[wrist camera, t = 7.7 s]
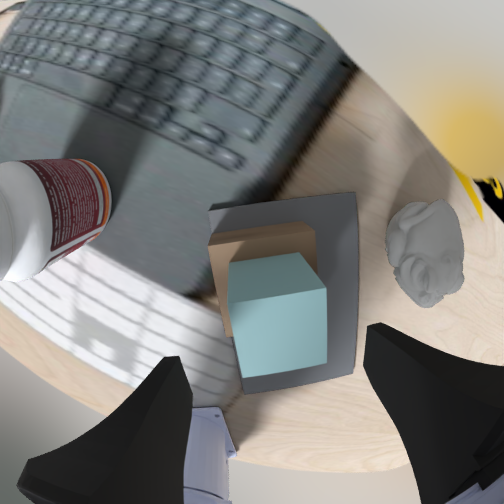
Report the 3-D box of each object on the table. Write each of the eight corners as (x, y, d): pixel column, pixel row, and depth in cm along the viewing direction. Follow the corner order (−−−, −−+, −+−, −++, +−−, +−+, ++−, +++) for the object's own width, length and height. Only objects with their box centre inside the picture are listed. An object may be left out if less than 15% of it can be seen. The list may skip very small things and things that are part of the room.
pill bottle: (69, 144, 16) (-44, 140, 5) (129, 185, 17) (22, 210, 7) (39, 214, 17) (-63, 255, 7) (92, 258, 18) (-1, 332, 8)
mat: (351, 370, 23) (352, 373, 23) (244, 391, 23) (244, 394, 22) (353, 191, 18) (355, 192, 18) (208, 210, 18) (208, 211, 18)
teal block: (303, 313, 17) (326, 363, 12) (239, 323, 17) (242, 378, 12) (299, 252, 16) (326, 287, 11) (228, 262, 16) (226, 303, 11)
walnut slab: (308, 301, 20) (319, 322, 17) (226, 314, 20) (226, 337, 17) (302, 220, 18) (314, 230, 15) (211, 234, 18) (207, 246, 15)
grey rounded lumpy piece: (356, 273, 20) (403, 317, 13) (377, 182, 18) (438, 192, 12) (414, 280, 21) (465, 318, 14) (435, 201, 19) (496, 217, 12)
